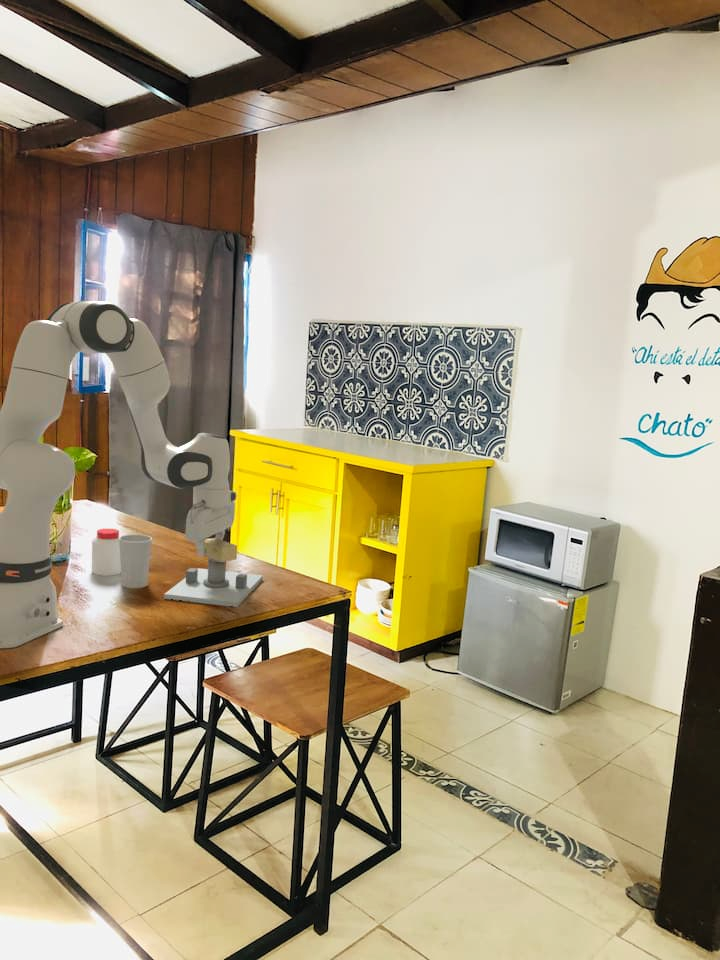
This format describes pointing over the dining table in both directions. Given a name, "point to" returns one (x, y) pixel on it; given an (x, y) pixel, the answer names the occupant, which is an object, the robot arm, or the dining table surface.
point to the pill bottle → (106, 553)
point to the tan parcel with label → (220, 550)
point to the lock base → (214, 586)
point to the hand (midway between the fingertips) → (209, 551)
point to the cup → (134, 560)
